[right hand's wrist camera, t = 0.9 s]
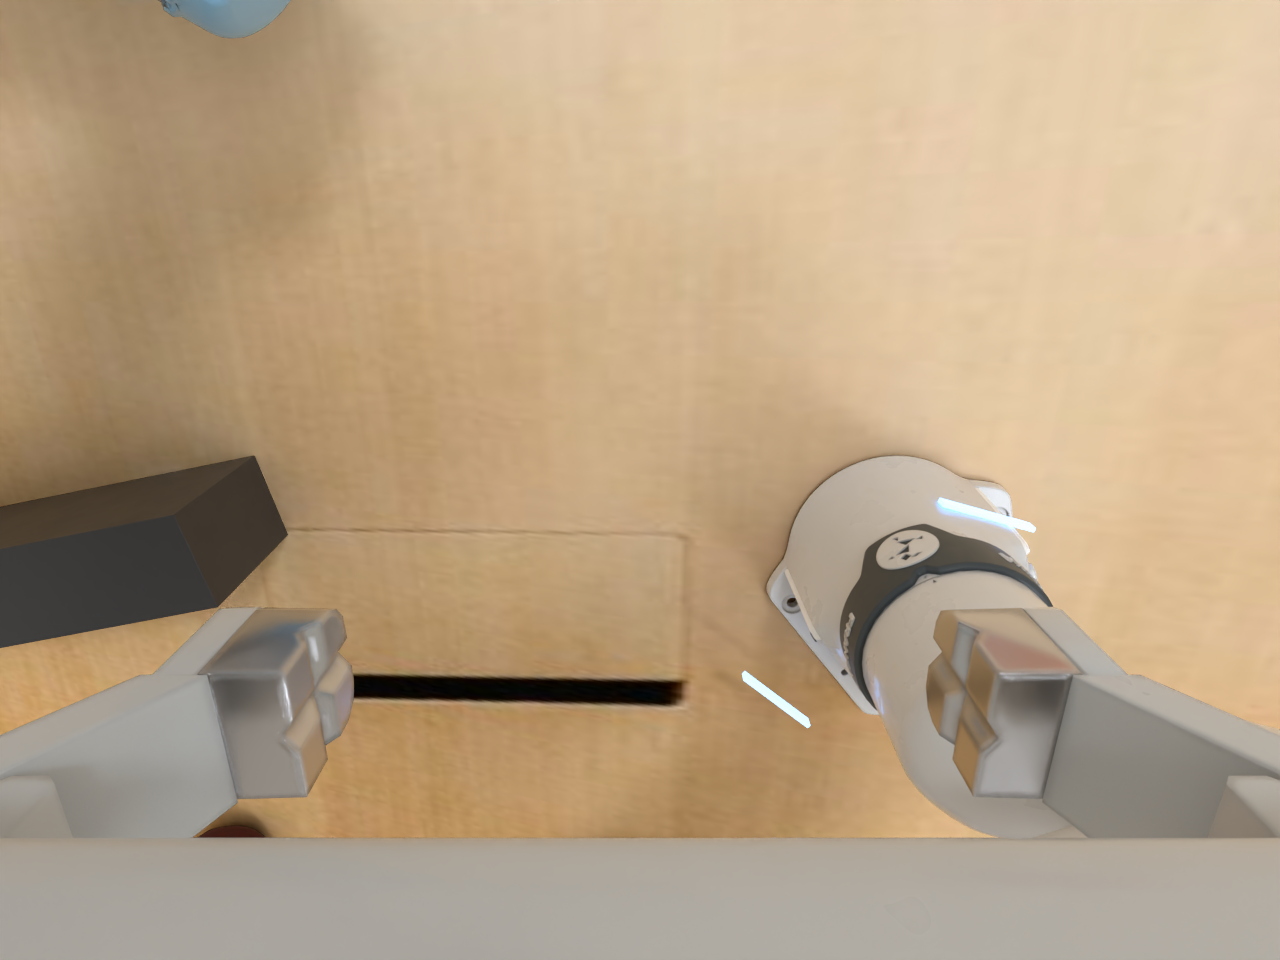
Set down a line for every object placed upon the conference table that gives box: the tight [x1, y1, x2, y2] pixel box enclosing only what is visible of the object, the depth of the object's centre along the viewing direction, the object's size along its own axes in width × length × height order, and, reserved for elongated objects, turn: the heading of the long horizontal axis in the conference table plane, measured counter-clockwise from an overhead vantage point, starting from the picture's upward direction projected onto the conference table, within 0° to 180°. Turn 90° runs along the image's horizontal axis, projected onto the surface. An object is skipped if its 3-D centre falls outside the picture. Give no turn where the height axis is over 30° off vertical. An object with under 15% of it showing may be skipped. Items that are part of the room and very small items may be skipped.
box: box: [0, 456, 288, 648], centre depth 51 cm, size 25×6×10 cm, turn 102°
